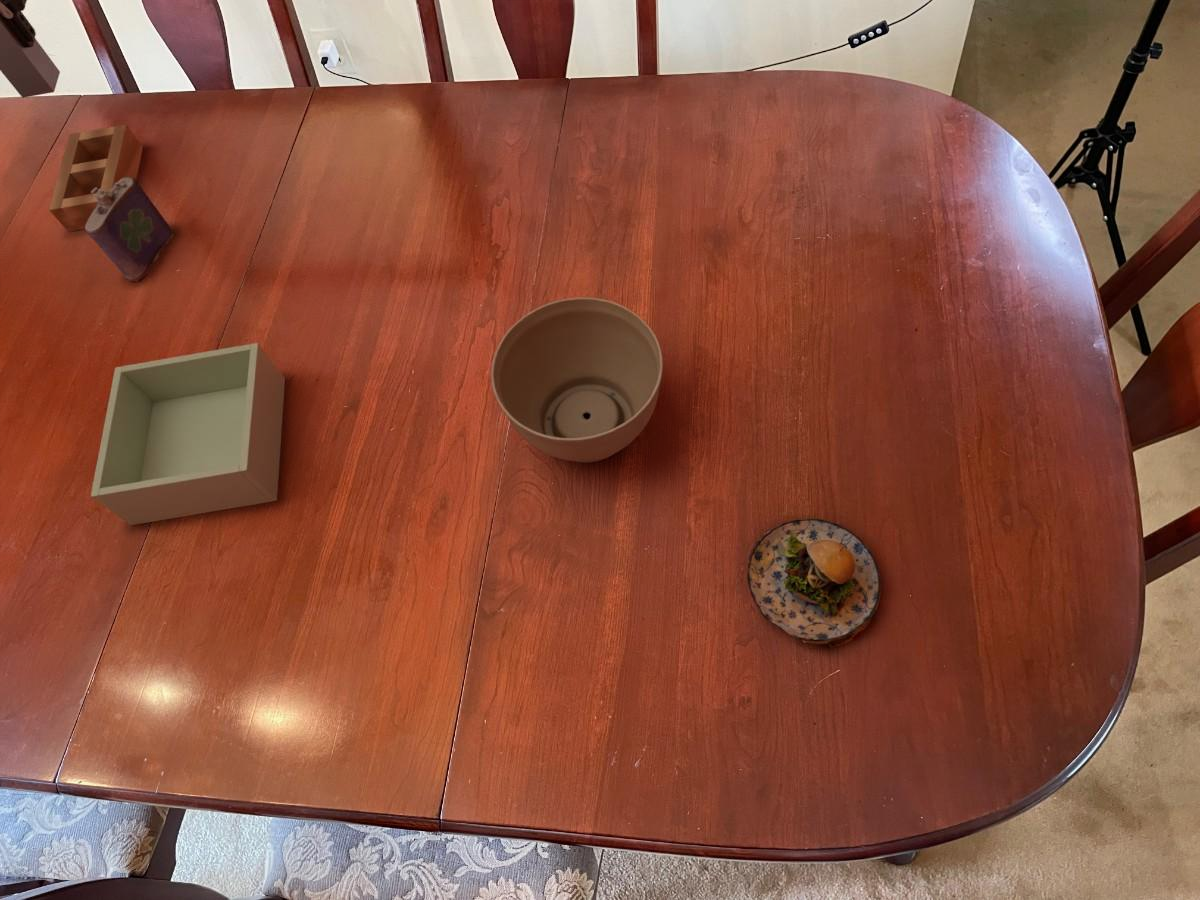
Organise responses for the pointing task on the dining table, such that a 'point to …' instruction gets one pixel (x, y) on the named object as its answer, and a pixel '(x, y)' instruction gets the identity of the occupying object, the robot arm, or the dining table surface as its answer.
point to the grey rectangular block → (26, 64)
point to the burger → (815, 581)
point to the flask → (128, 228)
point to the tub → (191, 435)
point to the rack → (92, 171)
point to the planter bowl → (578, 377)
